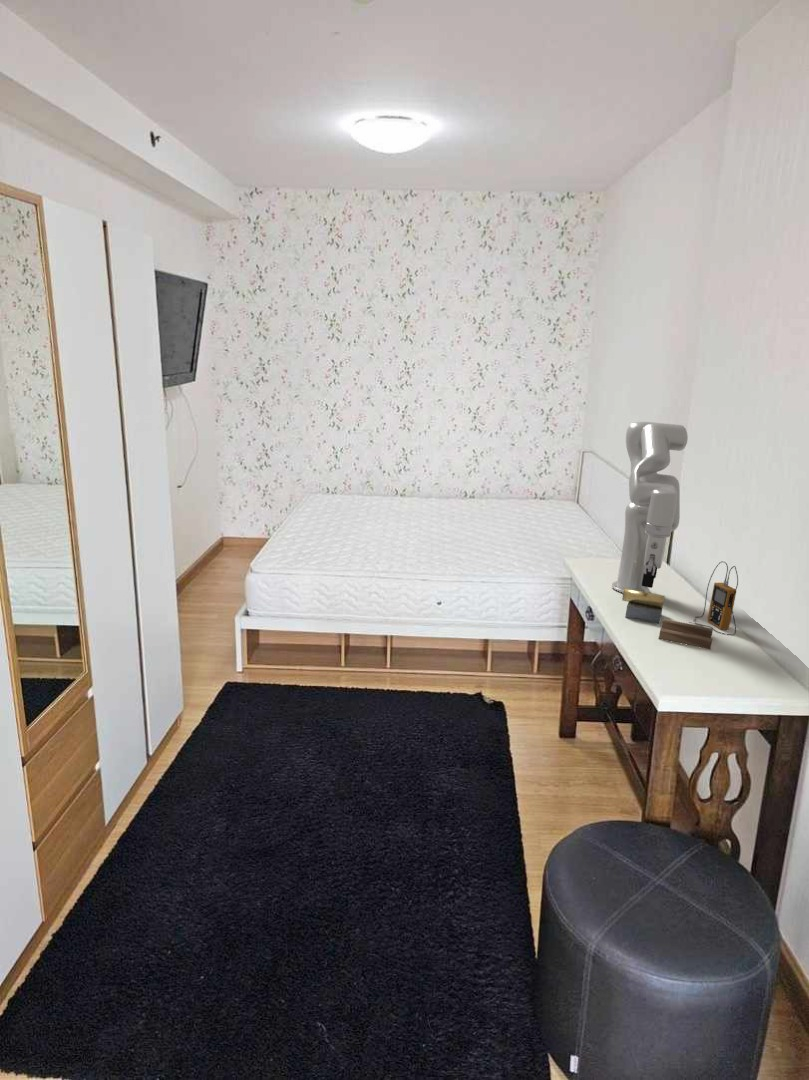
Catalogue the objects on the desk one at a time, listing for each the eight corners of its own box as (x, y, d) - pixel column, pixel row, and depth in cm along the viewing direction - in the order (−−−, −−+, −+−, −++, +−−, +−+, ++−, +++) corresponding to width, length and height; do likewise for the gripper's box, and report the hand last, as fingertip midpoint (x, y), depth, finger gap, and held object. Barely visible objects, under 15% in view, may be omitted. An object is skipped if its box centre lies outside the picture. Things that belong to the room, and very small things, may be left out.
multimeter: (679, 617, 229) (690, 556, 223) (707, 617, 231) (719, 557, 226) (707, 635, 215) (719, 571, 210) (736, 635, 217) (749, 572, 212)
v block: (629, 608, 234) (631, 596, 233) (661, 614, 230) (663, 602, 229) (625, 617, 225) (627, 605, 224) (658, 624, 221) (660, 612, 220)
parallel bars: (661, 626, 220) (663, 618, 219) (711, 636, 214) (712, 628, 214) (658, 638, 209) (660, 630, 209) (710, 649, 204) (712, 641, 204)
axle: (621, 602, 228) (623, 592, 226) (623, 596, 231) (625, 585, 229) (661, 610, 223) (663, 599, 222) (663, 604, 227) (664, 593, 225)
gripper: (668, 538, 211) (658, 593, 216) (673, 524, 227) (663, 576, 232) (642, 534, 214) (632, 587, 219) (648, 520, 229) (639, 571, 234)
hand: (648, 581), depth 225 cm, fingers open, 9 cm apart
